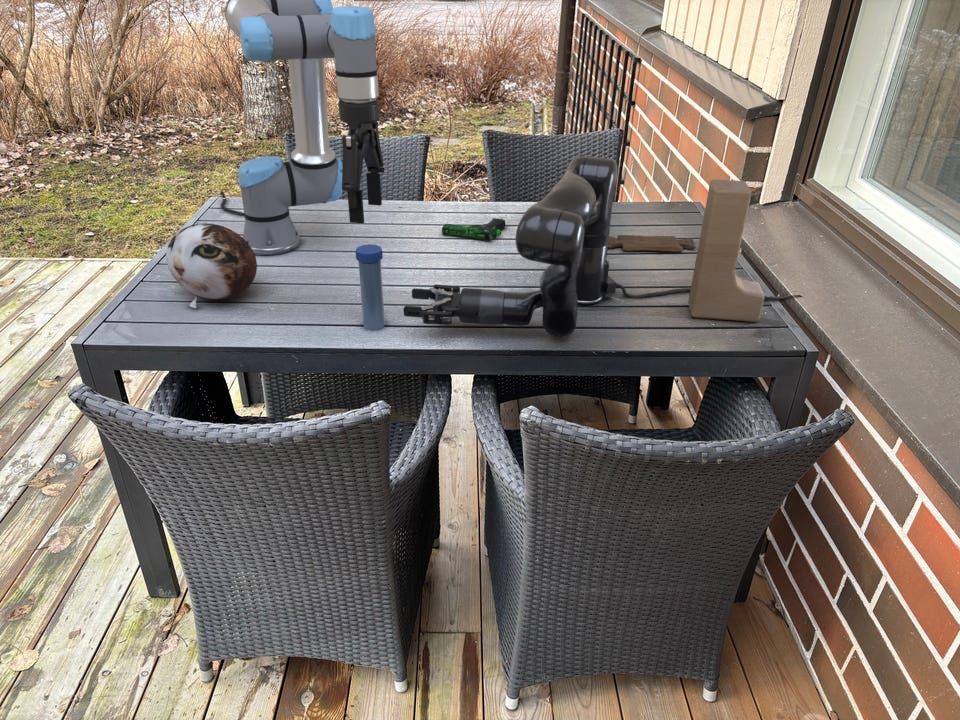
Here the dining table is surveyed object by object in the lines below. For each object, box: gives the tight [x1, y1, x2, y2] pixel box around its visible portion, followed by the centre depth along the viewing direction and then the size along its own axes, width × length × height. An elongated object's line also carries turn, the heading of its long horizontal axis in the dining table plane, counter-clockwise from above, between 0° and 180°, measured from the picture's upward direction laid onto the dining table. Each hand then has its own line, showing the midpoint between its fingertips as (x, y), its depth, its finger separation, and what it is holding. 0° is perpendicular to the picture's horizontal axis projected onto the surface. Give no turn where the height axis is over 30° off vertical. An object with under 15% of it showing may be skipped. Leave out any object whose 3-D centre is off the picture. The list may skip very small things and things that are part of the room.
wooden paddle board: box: [608, 234, 695, 253], centre depth 200 cm, size 26×2×10 cm
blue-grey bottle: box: [357, 259, 386, 331], centre depth 153 cm, size 5×5×18 cm
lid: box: [355, 243, 384, 263], centre depth 149 cm, size 6×6×2 cm
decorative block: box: [687, 178, 765, 323], centre depth 157 cm, size 8×15×30 cm, turn 82°
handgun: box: [441, 217, 506, 242], centre depth 207 cm, size 16×3×15 cm
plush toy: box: [165, 222, 258, 309], centre depth 165 cm, size 22×18×20 cm
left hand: (366, 213), depth 145 cm, fingers open, 10 cm apart
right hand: (408, 301), depth 154 cm, fingers open, 8 cm apart
